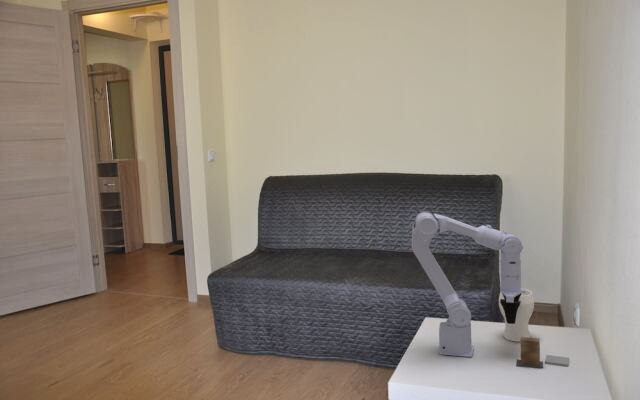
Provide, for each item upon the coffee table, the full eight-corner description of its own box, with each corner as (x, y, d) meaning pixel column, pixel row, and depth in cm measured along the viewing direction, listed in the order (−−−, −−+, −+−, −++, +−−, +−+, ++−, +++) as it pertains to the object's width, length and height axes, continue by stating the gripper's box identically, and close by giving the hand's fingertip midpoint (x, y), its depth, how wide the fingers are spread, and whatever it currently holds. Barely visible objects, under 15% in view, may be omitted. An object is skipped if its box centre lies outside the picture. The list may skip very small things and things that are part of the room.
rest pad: (516, 366, 154) (516, 364, 154) (516, 360, 158) (516, 359, 157) (543, 368, 151) (543, 367, 151) (542, 362, 155) (542, 361, 155)
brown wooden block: (520, 364, 154) (520, 340, 153) (521, 360, 156) (520, 337, 156) (539, 365, 152) (539, 341, 151) (539, 362, 154) (539, 338, 154)
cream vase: (530, 345, 168) (530, 298, 166) (495, 340, 174) (494, 294, 172) (537, 334, 177) (536, 289, 175) (504, 330, 183) (503, 286, 181)
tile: (544, 361, 154) (567, 364, 151) (546, 354, 159) (569, 357, 156) (544, 365, 154) (567, 368, 152) (546, 358, 159) (569, 361, 156)
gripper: (524, 281, 154) (525, 328, 155) (525, 269, 167) (526, 312, 169) (498, 280, 157) (499, 326, 158) (501, 268, 170) (502, 311, 171)
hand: (511, 319), depth 163 cm, fingers open, 7 cm apart
